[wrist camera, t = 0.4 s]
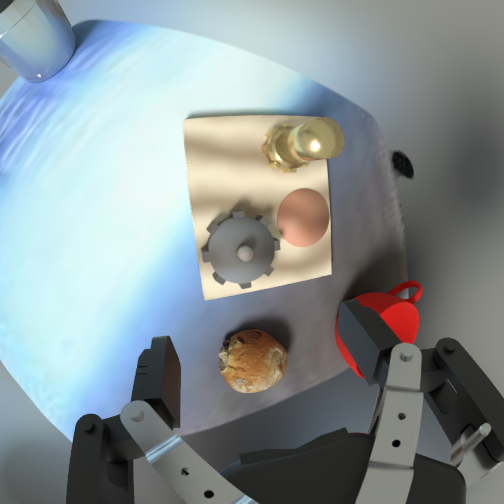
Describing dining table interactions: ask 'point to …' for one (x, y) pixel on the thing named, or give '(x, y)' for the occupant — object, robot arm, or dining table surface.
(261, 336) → the bread roll
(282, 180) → the gear board
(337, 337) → the ceramic cup
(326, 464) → the robot arm
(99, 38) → the dining table surface
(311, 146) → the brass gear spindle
